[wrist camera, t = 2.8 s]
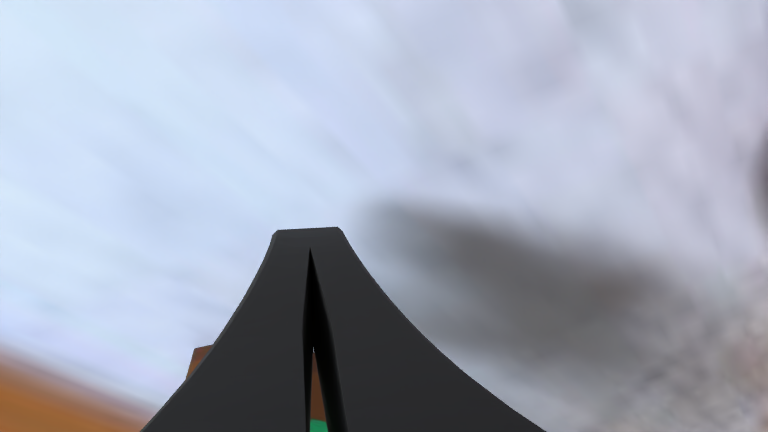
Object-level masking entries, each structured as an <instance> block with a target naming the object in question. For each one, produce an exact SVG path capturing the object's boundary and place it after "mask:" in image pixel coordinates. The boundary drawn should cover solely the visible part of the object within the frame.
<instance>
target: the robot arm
mask: <svg viewBox="0 0 768 432" xmlns="http://www.w3.org/2000/svg"><path fill="white" fill-rule="evenodd" d="M313 347H314V353H315V359H316V365H317V371H318V377H319V382H320V388H321V394H322V400H323V406H324V412H325V418H326V424H327V429H328V432H546V431H544V430H543V429H541V428H540V427H538V426H537V425H535V424H534V423H532V422H531V421H529V420H528V419H527V418H525V417H524V416H522V415H521V414H519V413H518V412H516V411H515V410H513V409H512V408H510V407H509V406H508V405H506V404H505V403H504V402H502V401H501V400H500V399H498V398H497V397H496V396H494V395H493V394H492V393H490V392H489V391H488V390H487V389H485V388H484V387H483V386H481V385H480V384H479V383H477V382H476V381H475V380H473V379H472V378H471V377H470V376H468V375H467V374H466V373H465V372H463V371H462V370H461V369H460V368H459V367H458V366H456V365H455V364H454V363H453V362H452V361H451V360H450V359H448V358H447V357H446V356H445V355H444V354H443V353H441V352H440V351H439V350H438V349H437V348H436V347H435V346H434V345H433V344H432V343H431V342H430V341H429V340H428V339H427V338H426V337H425V336H423V335H422V334H421V333H420V331H419V330H418V329H417V328H416V327H415V326H414V325H413V324H412V323H411V322H410V321H409V320H408V319H407V318H406V317H405V316H404V315H403V314H402V312H401V311H400V310H399V309H398V308H397V307H396V306H395V305H394V303H393V302H392V301H391V300H390V299H389V298H388V296H387V295H386V294H385V293H384V292H383V290H382V289H381V288H380V286H379V285H378V284H377V283H376V281H375V280H374V279H373V277H372V276H371V275H370V274H369V272H368V271H367V269H366V268H365V267H364V265H363V264H362V262H361V261H360V259H359V258H358V256H357V255H356V254H355V252H354V250H353V249H352V247H351V246H350V244H349V242H348V240H347V239H346V237H345V235H344V233H343V231H342V230H341V229H339V228H338V227H326V228H307V229H287V230H277V231H276V232H275V233H274V234H273V235H272V239H271V242H270V245H269V248H268V250H267V253H266V255H265V257H264V260H263V262H262V264H261V266H260V268H259V270H258V272H257V274H256V276H255V278H254V280H253V281H252V283H251V285H250V287H249V289H248V291H247V292H246V294H245V296H244V298H243V299H242V301H241V303H240V304H239V306H238V308H237V309H236V311H235V312H234V314H233V315H232V317H231V318H230V320H229V322H228V323H227V325H226V326H225V328H224V329H223V331H222V332H221V334H220V335H219V337H218V338H217V339H216V341H215V342H214V344H213V345H212V347H211V348H210V349H209V351H208V352H207V353H206V355H205V356H204V357H203V359H202V360H201V361H200V362H199V364H198V365H197V366H196V368H195V369H194V370H193V371H192V373H191V374H190V375H189V376H188V378H187V379H186V380H185V381H184V382H183V384H182V385H181V386H180V387H179V388H178V389H177V391H176V392H175V393H174V394H173V395H172V396H171V398H170V399H169V400H168V401H167V402H166V403H165V405H164V406H163V407H162V408H161V409H160V410H159V411H158V413H157V414H156V415H155V416H154V417H153V418H152V419H151V420H150V421H149V422H148V424H147V425H146V426H145V427H144V428H143V429H142V430H141V431H140V432H310V420H311V395H312V369H313Z"/></svg>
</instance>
